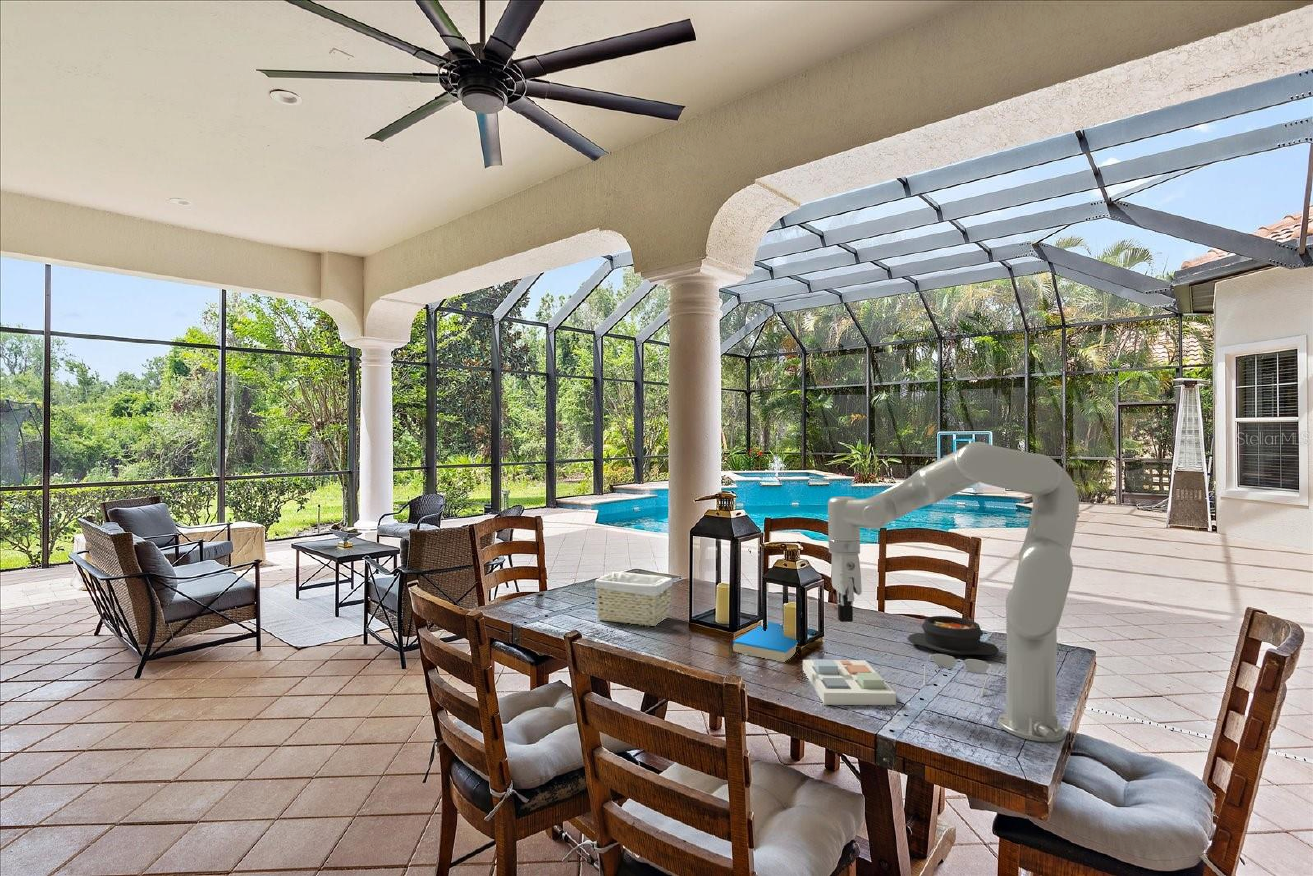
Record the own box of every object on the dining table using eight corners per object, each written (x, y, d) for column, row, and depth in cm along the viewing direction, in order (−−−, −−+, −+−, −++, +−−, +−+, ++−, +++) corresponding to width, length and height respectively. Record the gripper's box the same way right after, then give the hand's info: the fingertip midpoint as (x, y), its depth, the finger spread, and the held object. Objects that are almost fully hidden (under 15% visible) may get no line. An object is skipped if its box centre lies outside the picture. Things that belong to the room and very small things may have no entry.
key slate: (848, 696, 155) (848, 685, 155) (828, 695, 155) (828, 685, 155) (843, 688, 160) (843, 678, 160) (822, 688, 160) (822, 677, 160)
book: (815, 629, 202) (786, 650, 181) (815, 643, 202) (786, 665, 181) (764, 621, 212) (731, 639, 190) (764, 634, 211) (731, 654, 190)
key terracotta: (871, 681, 165) (871, 671, 165) (851, 681, 165) (851, 671, 165) (865, 674, 170) (865, 665, 170) (846, 674, 170) (846, 665, 170)
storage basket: (674, 617, 228) (674, 576, 228) (656, 630, 213) (656, 585, 213) (613, 610, 238) (613, 570, 238) (592, 622, 223) (593, 579, 223)
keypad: (895, 706, 152) (895, 692, 152) (823, 705, 152) (823, 691, 152) (865, 671, 175) (865, 659, 175) (802, 670, 175) (802, 658, 175)
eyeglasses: (991, 676, 173) (991, 662, 173) (987, 699, 157) (987, 683, 157) (929, 666, 181) (929, 652, 181) (919, 687, 165) (919, 671, 165)
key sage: (884, 690, 155) (884, 680, 155) (863, 690, 155) (863, 680, 155) (877, 682, 160) (877, 672, 160) (857, 682, 160) (857, 672, 160)
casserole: (1000, 648, 195) (1000, 621, 195) (996, 666, 179) (996, 636, 179) (913, 635, 208) (913, 609, 208) (902, 651, 192) (902, 623, 192)
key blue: (838, 675, 165) (838, 666, 165) (818, 675, 165) (818, 666, 165) (832, 669, 170) (832, 659, 170) (813, 668, 170) (814, 659, 170)
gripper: (869, 551, 152) (870, 629, 152) (849, 542, 167) (851, 613, 167) (837, 551, 152) (839, 629, 152) (821, 542, 167) (822, 613, 167)
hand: (845, 620), depth 159 cm, fingers closed
